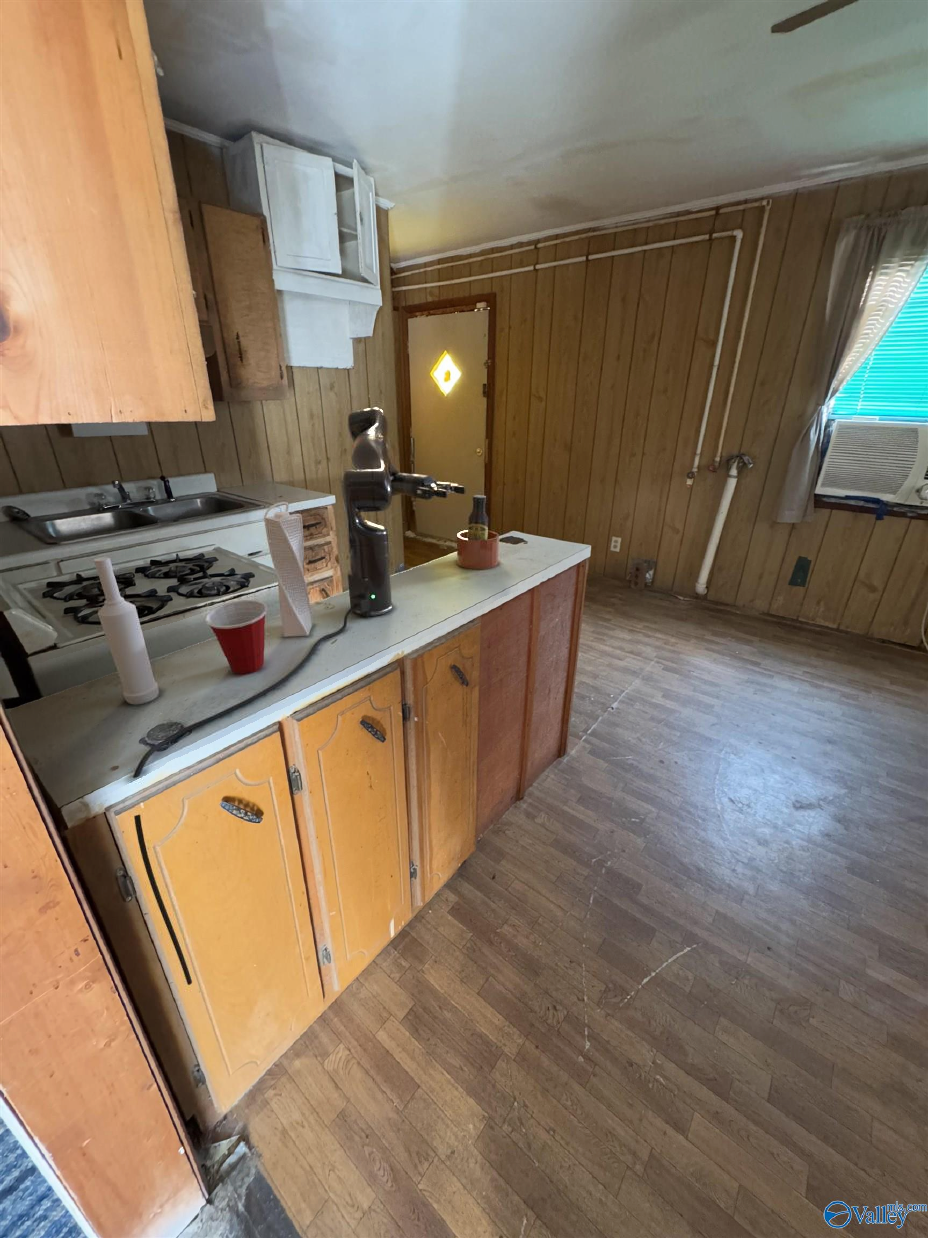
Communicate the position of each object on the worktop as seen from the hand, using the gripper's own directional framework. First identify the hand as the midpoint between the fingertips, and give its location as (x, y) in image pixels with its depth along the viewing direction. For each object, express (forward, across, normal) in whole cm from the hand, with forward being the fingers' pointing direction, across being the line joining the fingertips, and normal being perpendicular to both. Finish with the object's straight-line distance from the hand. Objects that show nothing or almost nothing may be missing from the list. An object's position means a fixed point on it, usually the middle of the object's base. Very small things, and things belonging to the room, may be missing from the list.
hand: (455, 492), depth 155 cm
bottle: (+14, -98, +20) cm, 101 cm away
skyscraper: (+11, -65, +21) cm, 69 cm away
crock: (+9, 0, +21) cm, 23 cm away
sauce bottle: (+9, 0, +20) cm, 22 cm away
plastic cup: (+18, -81, +20) cm, 86 cm away
